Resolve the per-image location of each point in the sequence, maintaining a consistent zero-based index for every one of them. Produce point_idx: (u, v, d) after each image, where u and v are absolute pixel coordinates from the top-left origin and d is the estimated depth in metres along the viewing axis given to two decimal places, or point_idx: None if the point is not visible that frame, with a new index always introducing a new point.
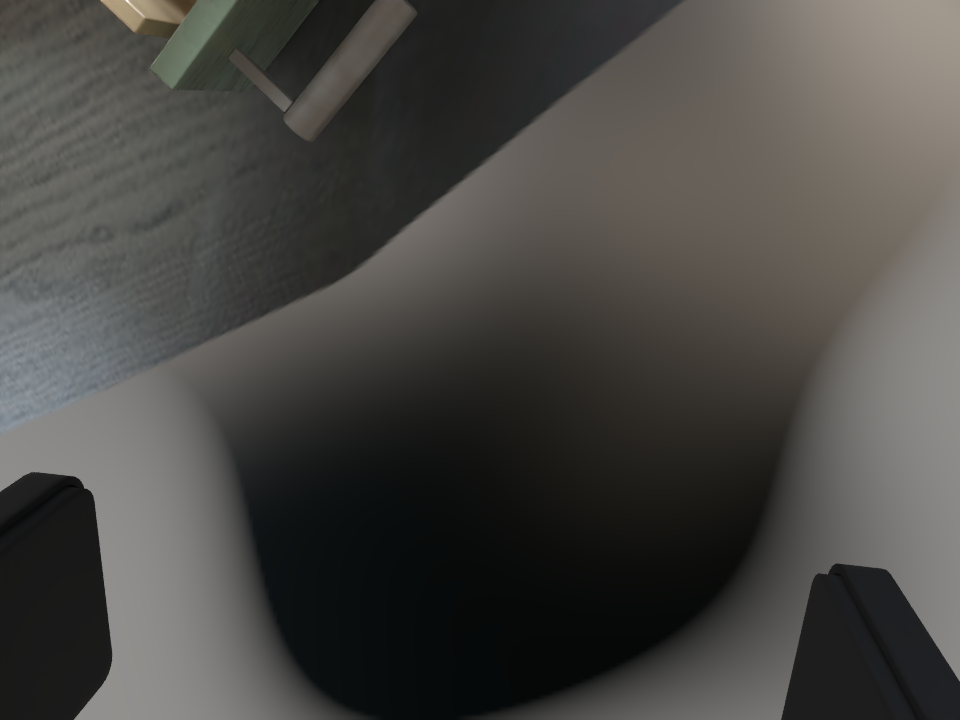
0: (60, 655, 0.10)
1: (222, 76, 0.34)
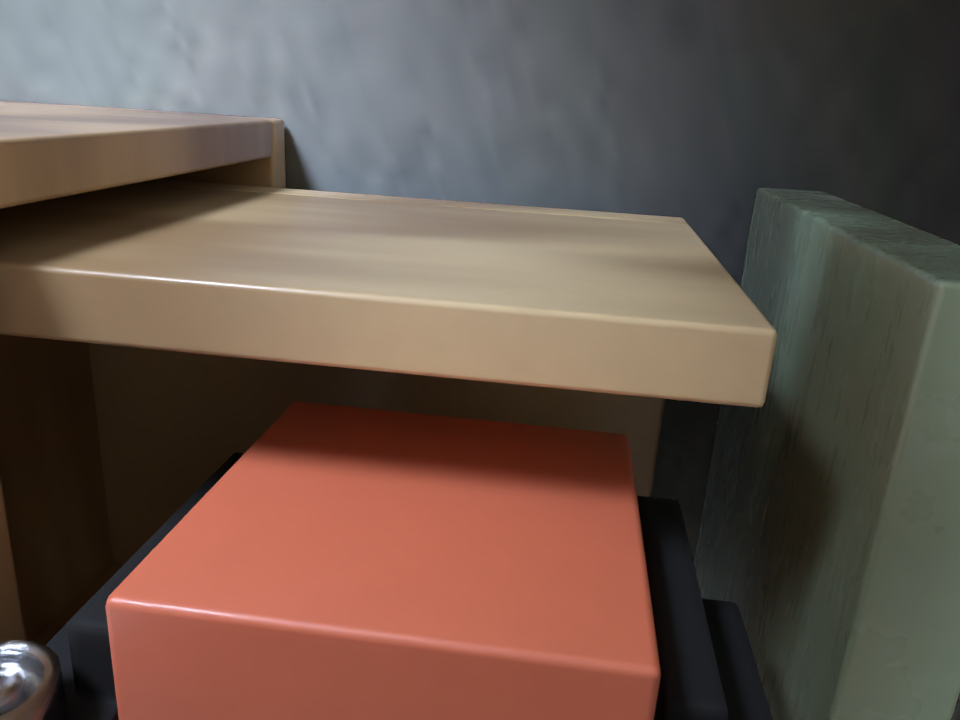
0: None
1: None
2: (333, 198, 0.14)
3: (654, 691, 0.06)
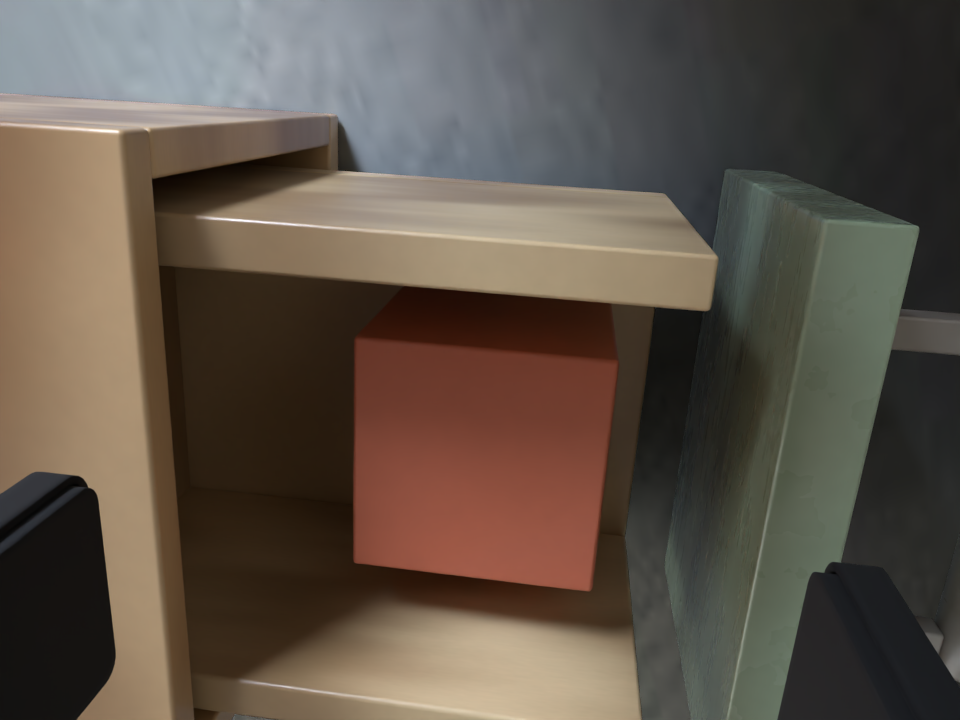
0: (64, 654, 0.10)
1: None
2: (383, 177, 0.17)
3: (616, 371, 0.13)
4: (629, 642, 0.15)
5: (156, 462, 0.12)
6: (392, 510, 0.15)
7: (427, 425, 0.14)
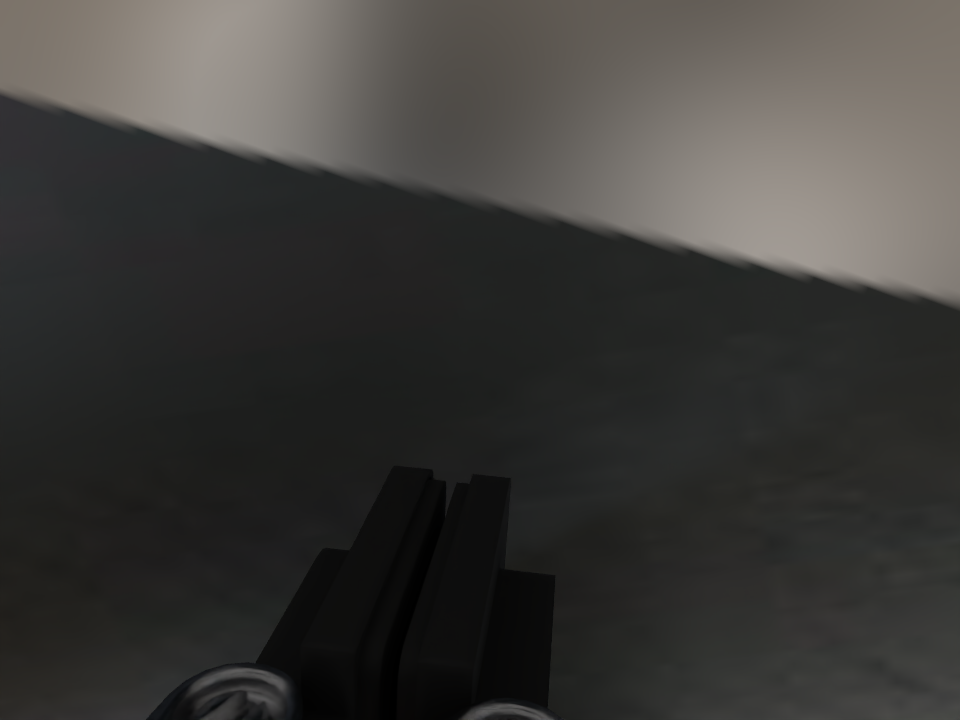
0: None
1: None
2: None
3: None
4: None
5: None
6: None
7: None
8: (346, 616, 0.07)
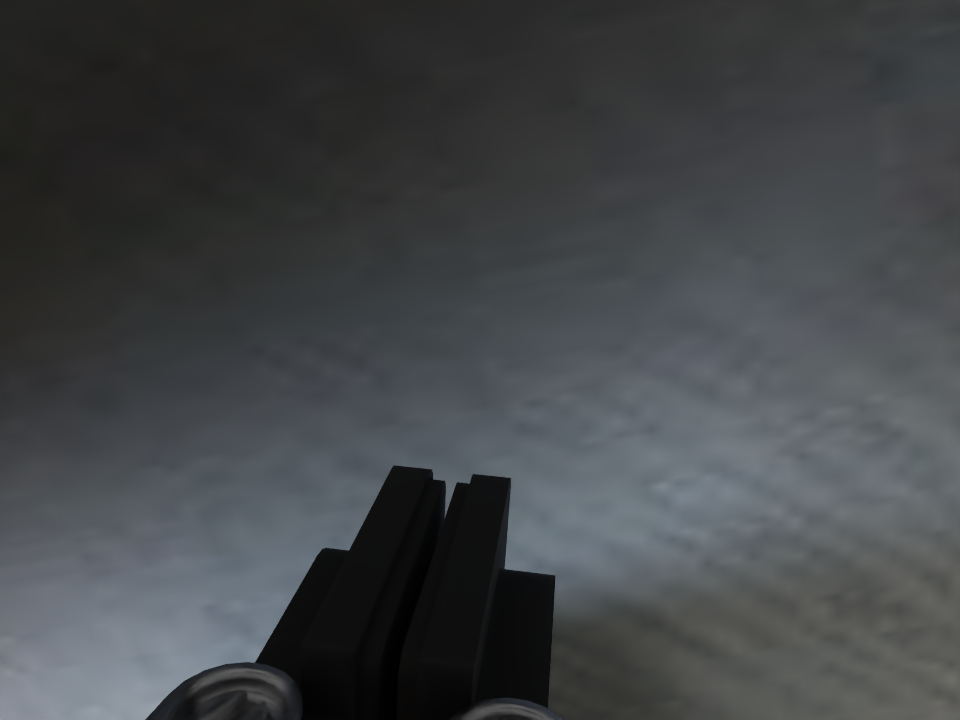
0: None
1: None
2: None
3: None
4: None
5: None
6: None
7: None
8: (346, 616, 0.07)
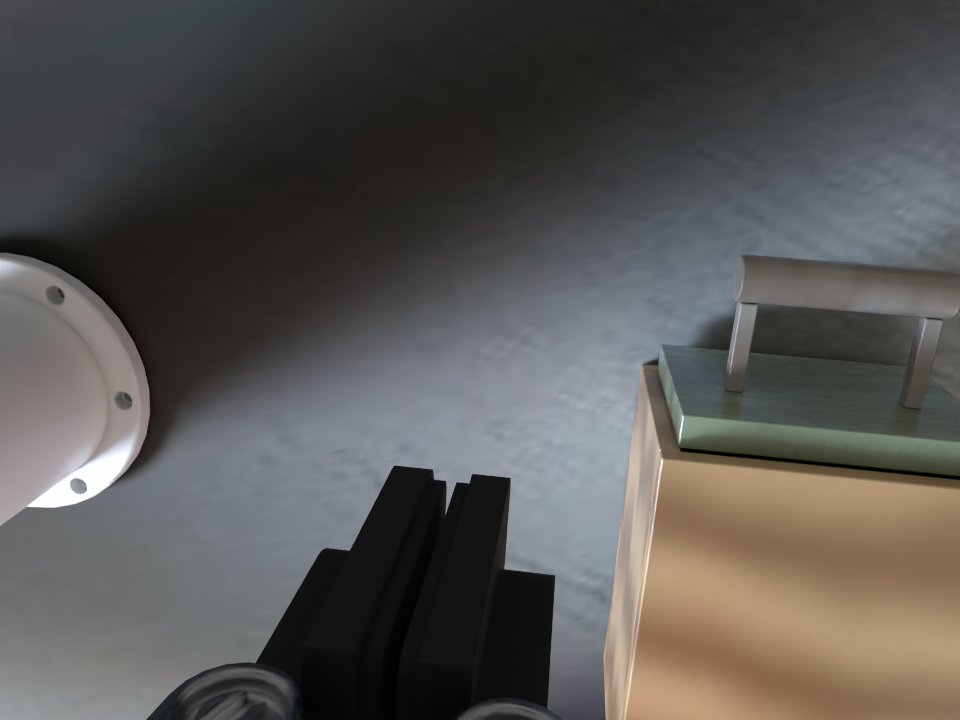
0: None
1: (940, 403, 0.28)
2: None
3: None
4: None
5: (815, 471, 0.25)
6: None
7: None
8: (346, 616, 0.07)
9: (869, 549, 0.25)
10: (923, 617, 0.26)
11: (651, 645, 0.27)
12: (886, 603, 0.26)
